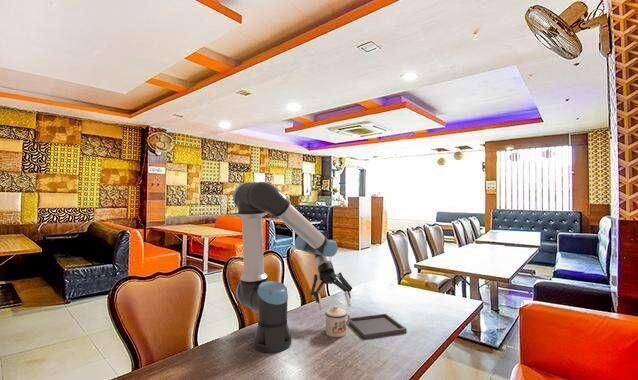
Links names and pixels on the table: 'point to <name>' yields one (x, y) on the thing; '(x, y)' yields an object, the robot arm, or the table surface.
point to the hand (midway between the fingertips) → (335, 307)
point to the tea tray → (376, 326)
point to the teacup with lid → (336, 322)
